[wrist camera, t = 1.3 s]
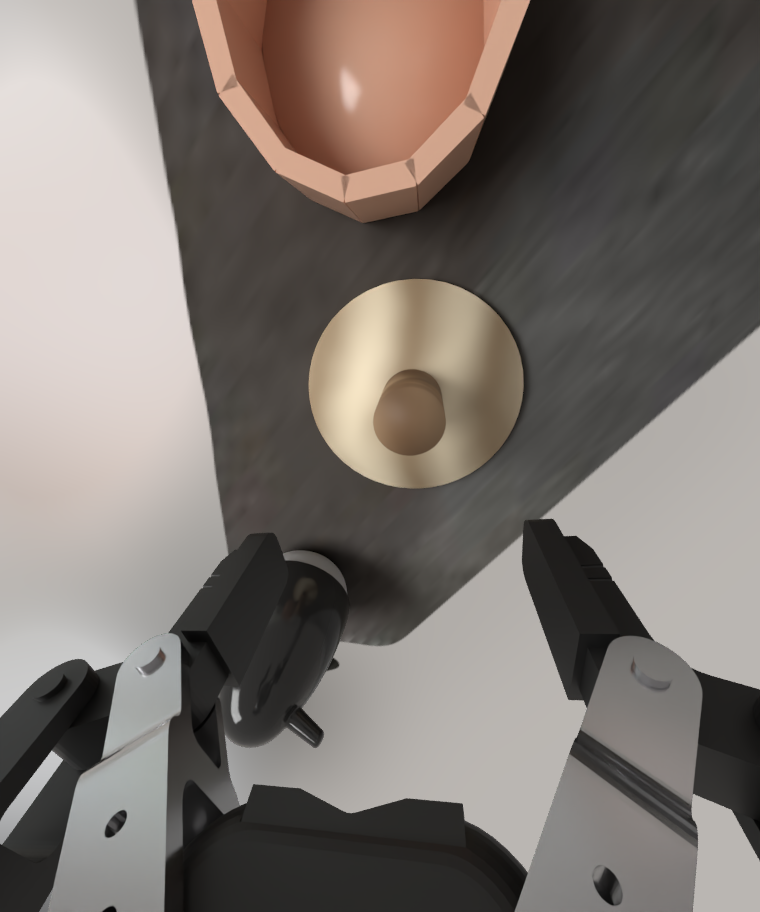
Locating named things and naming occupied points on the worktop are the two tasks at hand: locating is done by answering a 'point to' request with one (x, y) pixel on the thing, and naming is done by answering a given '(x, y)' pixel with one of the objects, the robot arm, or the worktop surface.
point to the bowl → (361, 90)
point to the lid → (416, 383)
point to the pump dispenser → (290, 656)
